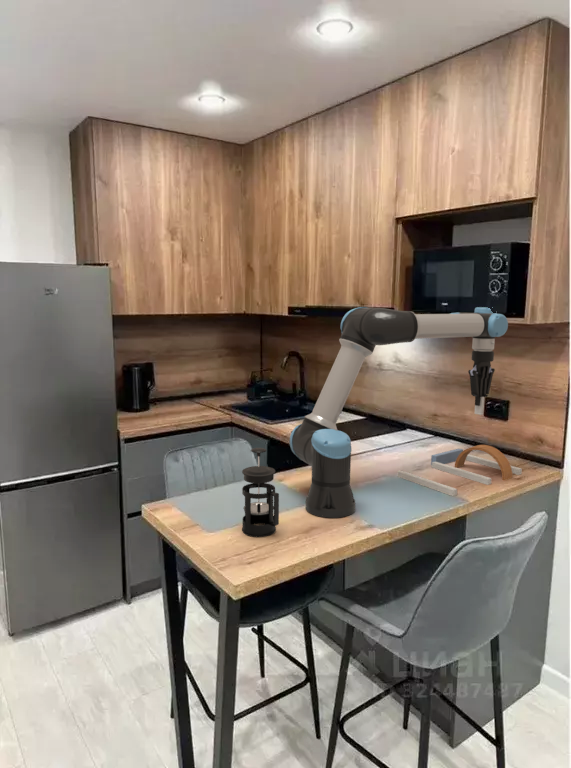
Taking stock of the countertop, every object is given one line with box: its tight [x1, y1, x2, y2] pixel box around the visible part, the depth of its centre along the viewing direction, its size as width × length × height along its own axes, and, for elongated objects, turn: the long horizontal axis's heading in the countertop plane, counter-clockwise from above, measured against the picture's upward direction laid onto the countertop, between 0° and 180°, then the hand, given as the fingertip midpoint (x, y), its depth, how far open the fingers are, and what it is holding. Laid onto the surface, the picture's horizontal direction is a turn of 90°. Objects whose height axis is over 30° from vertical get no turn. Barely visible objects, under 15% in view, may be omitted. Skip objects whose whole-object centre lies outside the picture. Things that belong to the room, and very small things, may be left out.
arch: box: [453, 444, 513, 482], centre depth 196 cm, size 6×20×10 cm, turn 40°
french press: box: [241, 447, 280, 538], centre depth 143 cm, size 12×9×23 cm
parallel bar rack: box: [397, 448, 523, 497], centre depth 193 cm, size 40×26×4 cm, turn 126°
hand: (478, 413), depth 195 cm, fingers closed
